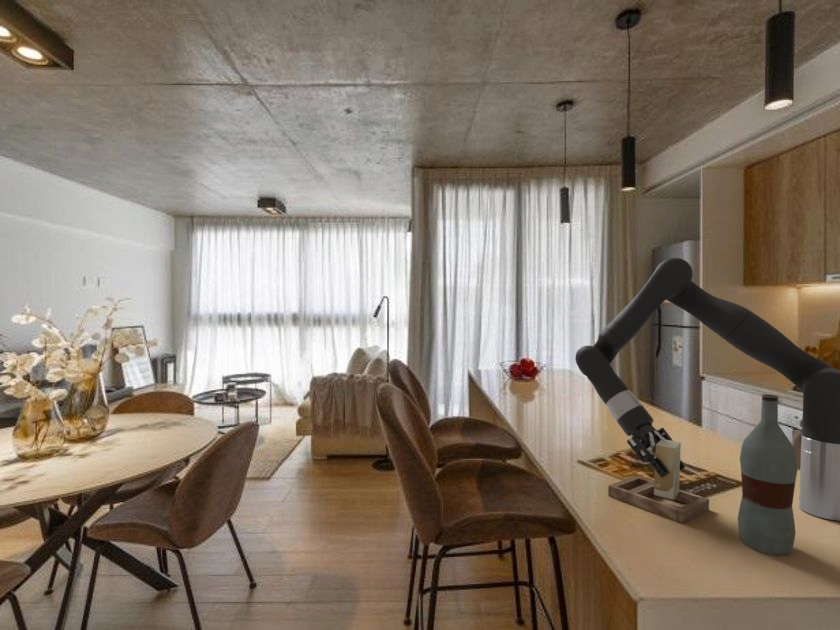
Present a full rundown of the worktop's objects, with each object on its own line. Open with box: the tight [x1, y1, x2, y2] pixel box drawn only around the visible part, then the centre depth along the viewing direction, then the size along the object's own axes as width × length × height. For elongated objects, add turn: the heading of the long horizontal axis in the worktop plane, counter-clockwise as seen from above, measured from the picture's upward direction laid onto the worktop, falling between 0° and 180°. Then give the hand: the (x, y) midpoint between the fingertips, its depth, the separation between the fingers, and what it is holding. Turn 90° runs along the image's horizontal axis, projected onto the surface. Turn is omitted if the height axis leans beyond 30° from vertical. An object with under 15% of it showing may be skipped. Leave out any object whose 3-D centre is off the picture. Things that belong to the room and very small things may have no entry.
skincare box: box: [653, 439, 682, 501], centre depth 113 cm, size 6×4×12 cm
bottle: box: [737, 393, 799, 556], centre depth 95 cm, size 9×9×30 cm
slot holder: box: [607, 475, 710, 524], centre depth 115 cm, size 18×12×2 cm
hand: (674, 472), depth 112 cm, fingers closed on skincare box, 7 cm apart
